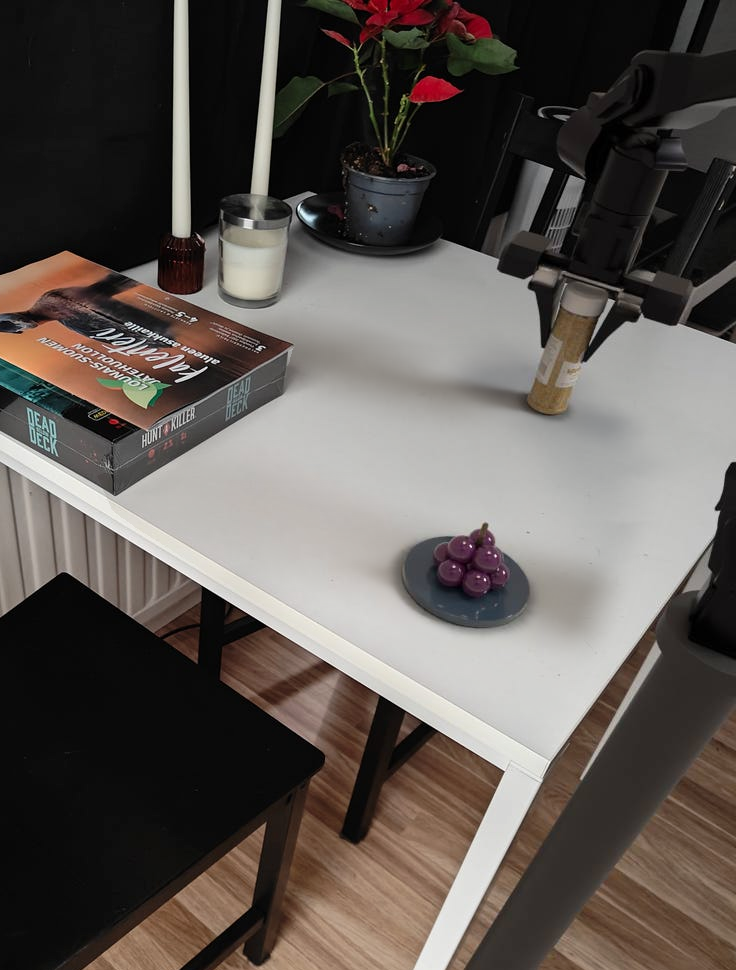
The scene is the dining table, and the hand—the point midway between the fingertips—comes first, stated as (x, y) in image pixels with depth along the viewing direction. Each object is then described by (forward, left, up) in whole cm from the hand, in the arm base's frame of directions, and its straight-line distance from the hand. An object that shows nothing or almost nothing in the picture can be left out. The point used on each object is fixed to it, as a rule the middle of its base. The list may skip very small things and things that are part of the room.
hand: (564, 353), depth 97 cm
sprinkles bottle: (0, 0, -7) cm, 7 cm away
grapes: (-2, +35, -6) cm, 36 cm away
